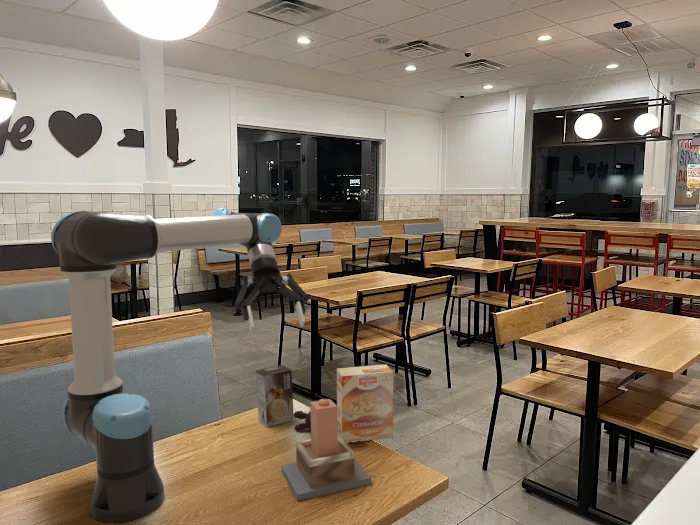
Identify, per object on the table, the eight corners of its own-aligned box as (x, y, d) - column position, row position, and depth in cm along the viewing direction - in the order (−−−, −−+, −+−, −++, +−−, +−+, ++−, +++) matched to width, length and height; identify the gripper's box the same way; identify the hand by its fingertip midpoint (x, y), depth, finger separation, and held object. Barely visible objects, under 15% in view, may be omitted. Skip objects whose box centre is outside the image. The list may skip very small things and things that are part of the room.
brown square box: (310, 487, 120) (309, 462, 119) (296, 465, 130) (296, 441, 129) (354, 478, 124) (354, 453, 123) (338, 457, 134) (337, 433, 133)
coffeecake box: (342, 444, 144) (341, 375, 142) (336, 433, 151) (335, 367, 149) (394, 438, 148) (394, 371, 145) (386, 427, 155) (386, 363, 152)
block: (317, 458, 123) (316, 406, 122) (311, 449, 128) (310, 398, 126) (337, 454, 125) (337, 403, 124) (330, 445, 130) (329, 395, 128)
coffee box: (284, 413, 165) (283, 364, 163) (294, 420, 160) (292, 369, 158) (257, 420, 160) (255, 369, 158) (266, 428, 155) (264, 375, 153)
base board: (297, 501, 117) (297, 494, 117) (281, 471, 130) (281, 465, 130) (370, 484, 124) (370, 478, 124) (348, 457, 137) (348, 451, 137)
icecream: (345, 404, 156) (296, 407, 157) (341, 408, 148) (290, 411, 150) (347, 429, 155) (297, 431, 156) (343, 433, 147) (291, 436, 149)
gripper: (303, 269, 158) (319, 329, 146) (218, 274, 148) (228, 339, 136) (308, 253, 152) (326, 314, 140) (220, 257, 143) (231, 323, 131)
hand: (278, 327), depth 138 cm, fingers open, 13 cm apart
